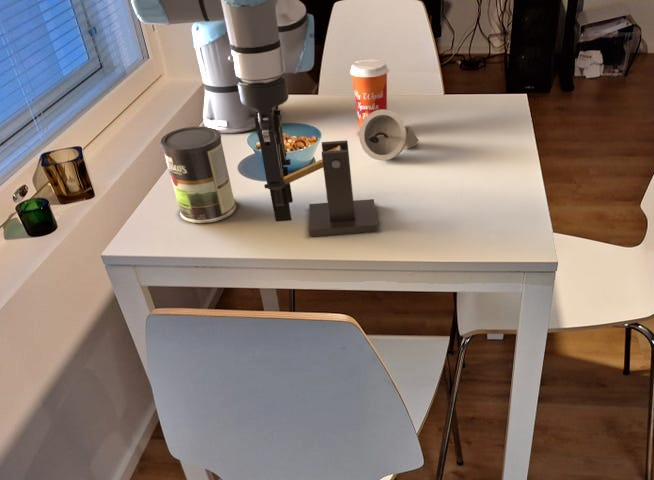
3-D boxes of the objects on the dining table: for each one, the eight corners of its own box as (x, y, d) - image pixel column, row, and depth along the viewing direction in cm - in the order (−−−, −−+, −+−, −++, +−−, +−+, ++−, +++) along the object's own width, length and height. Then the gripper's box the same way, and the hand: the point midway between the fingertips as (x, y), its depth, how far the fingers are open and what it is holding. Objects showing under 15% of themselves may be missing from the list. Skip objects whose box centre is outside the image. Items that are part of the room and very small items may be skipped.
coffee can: (199, 229, 120) (178, 154, 111) (170, 211, 126) (149, 138, 117) (247, 209, 126) (231, 136, 116) (218, 192, 131) (201, 121, 122)
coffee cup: (350, 138, 150) (344, 69, 140) (361, 125, 156) (356, 57, 146) (386, 141, 148) (382, 71, 139) (396, 127, 154) (393, 59, 145)
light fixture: (418, 166, 148) (422, 118, 145) (397, 160, 132) (402, 106, 130) (371, 162, 150) (375, 115, 148) (345, 155, 134) (349, 102, 132)
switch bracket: (309, 236, 117) (298, 161, 108) (310, 210, 125) (299, 137, 116) (377, 231, 118) (372, 156, 109) (374, 205, 125) (368, 133, 117)
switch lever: (277, 199, 114) (270, 187, 113) (279, 183, 119) (272, 172, 117) (347, 167, 112) (340, 154, 110) (345, 152, 116) (339, 140, 115)
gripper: (242, 59, 111) (266, 188, 126) (230, 98, 96) (259, 239, 111) (287, 56, 111) (306, 185, 126) (282, 95, 97) (304, 235, 112)
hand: (284, 210), depth 119 cm, fingers closed on switch lever, 6 cm apart
